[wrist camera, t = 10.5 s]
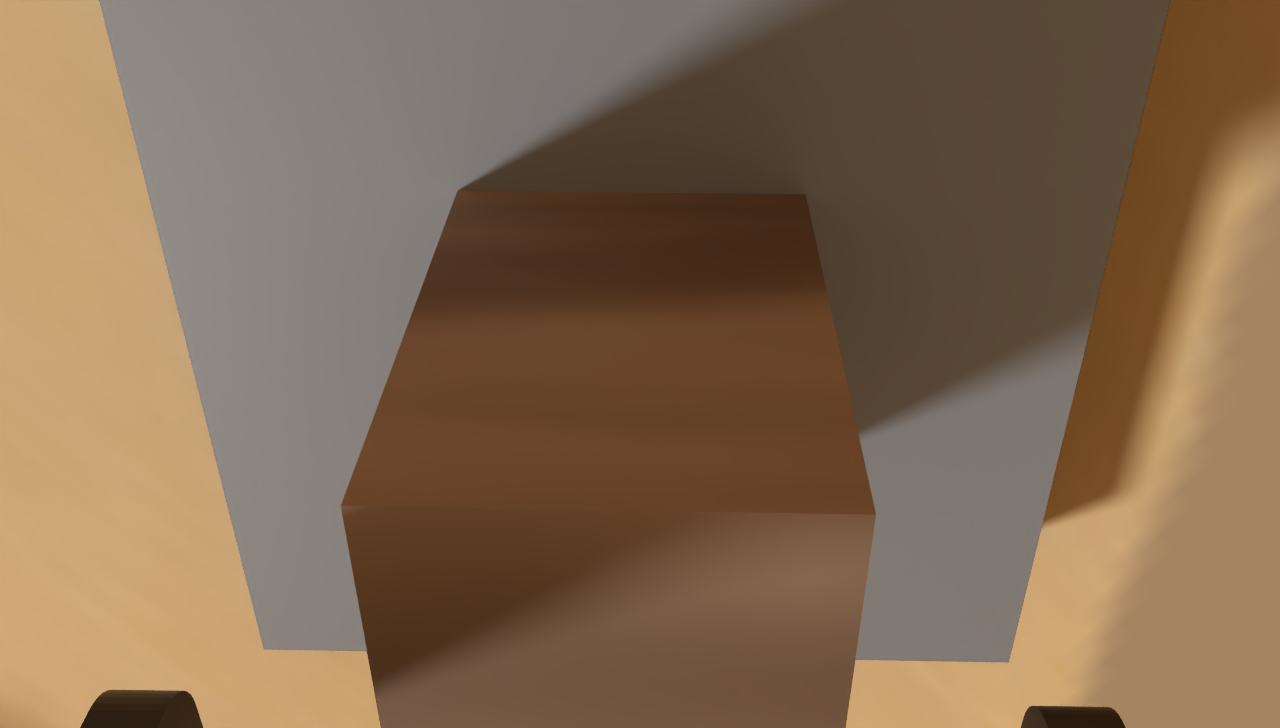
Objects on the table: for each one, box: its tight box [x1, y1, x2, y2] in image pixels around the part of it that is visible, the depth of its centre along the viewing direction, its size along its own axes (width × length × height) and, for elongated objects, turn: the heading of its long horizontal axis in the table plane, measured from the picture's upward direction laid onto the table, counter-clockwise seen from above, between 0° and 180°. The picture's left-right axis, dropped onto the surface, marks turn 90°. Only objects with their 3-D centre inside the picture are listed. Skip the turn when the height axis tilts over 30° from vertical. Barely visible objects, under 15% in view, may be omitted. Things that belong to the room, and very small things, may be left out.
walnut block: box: [341, 191, 876, 728], centre depth 15 cm, size 5×5×7 cm
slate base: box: [99, 0, 1170, 662], centre depth 19 cm, size 14×14×3 cm
